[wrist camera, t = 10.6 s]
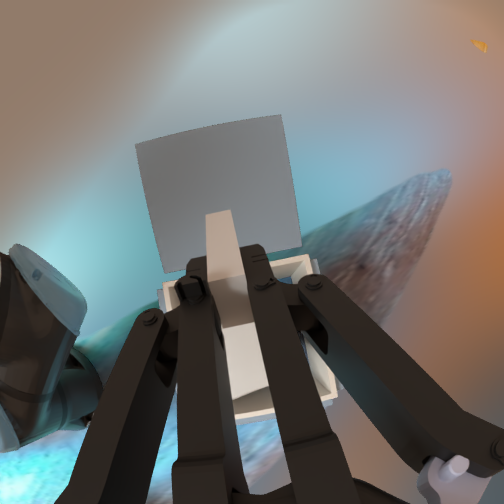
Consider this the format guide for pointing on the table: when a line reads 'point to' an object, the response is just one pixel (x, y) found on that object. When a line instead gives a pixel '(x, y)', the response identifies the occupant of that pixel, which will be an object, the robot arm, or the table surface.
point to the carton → (260, 401)
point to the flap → (219, 187)
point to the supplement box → (244, 360)
